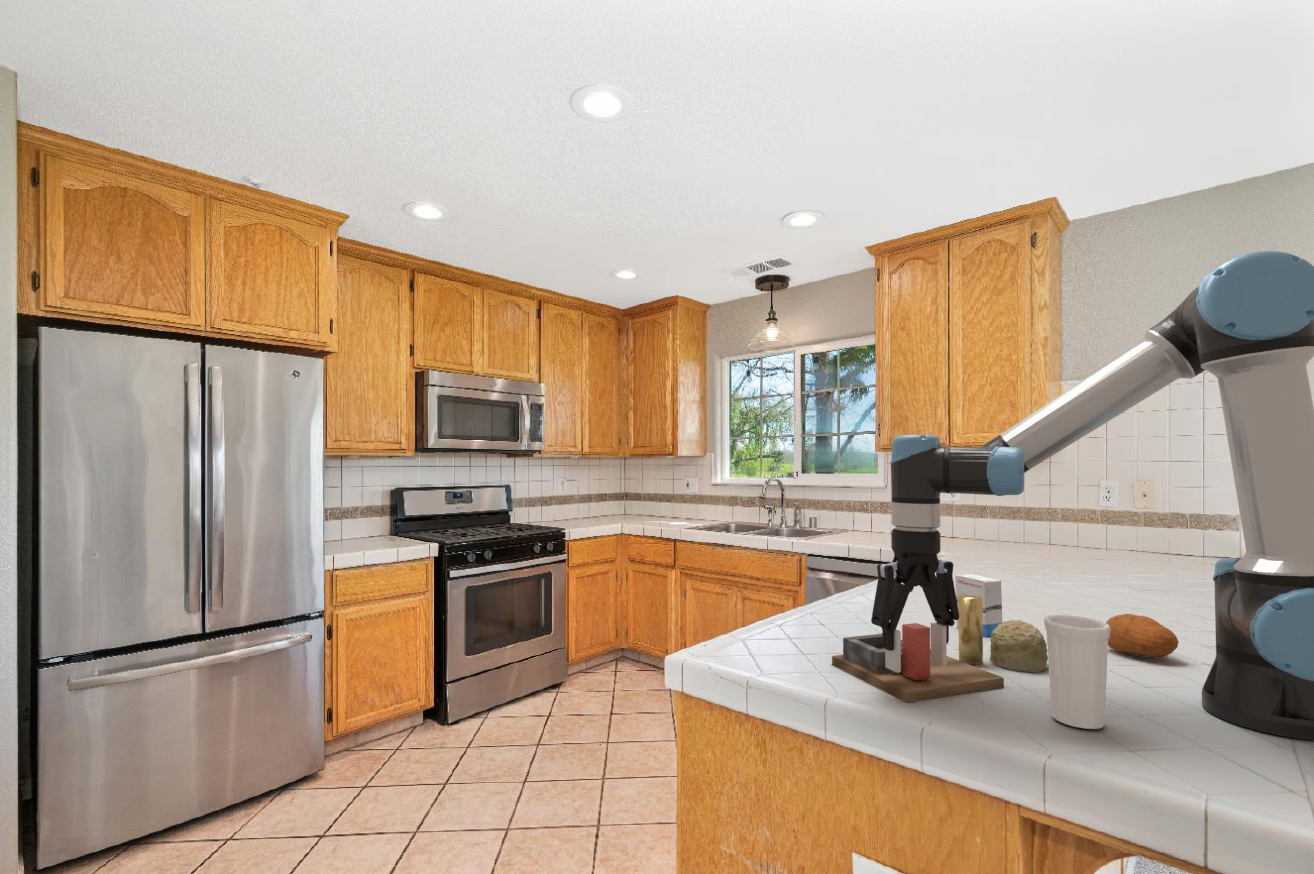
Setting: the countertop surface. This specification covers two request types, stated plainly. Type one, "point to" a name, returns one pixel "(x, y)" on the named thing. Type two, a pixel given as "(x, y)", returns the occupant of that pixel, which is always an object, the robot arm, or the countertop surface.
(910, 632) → the pin
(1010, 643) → the decorative object
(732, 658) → the countertop surface
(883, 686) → the mount
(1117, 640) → the potato
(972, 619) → the upright brass rod
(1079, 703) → the cup
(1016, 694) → the countertop surface
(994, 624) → the ink box
